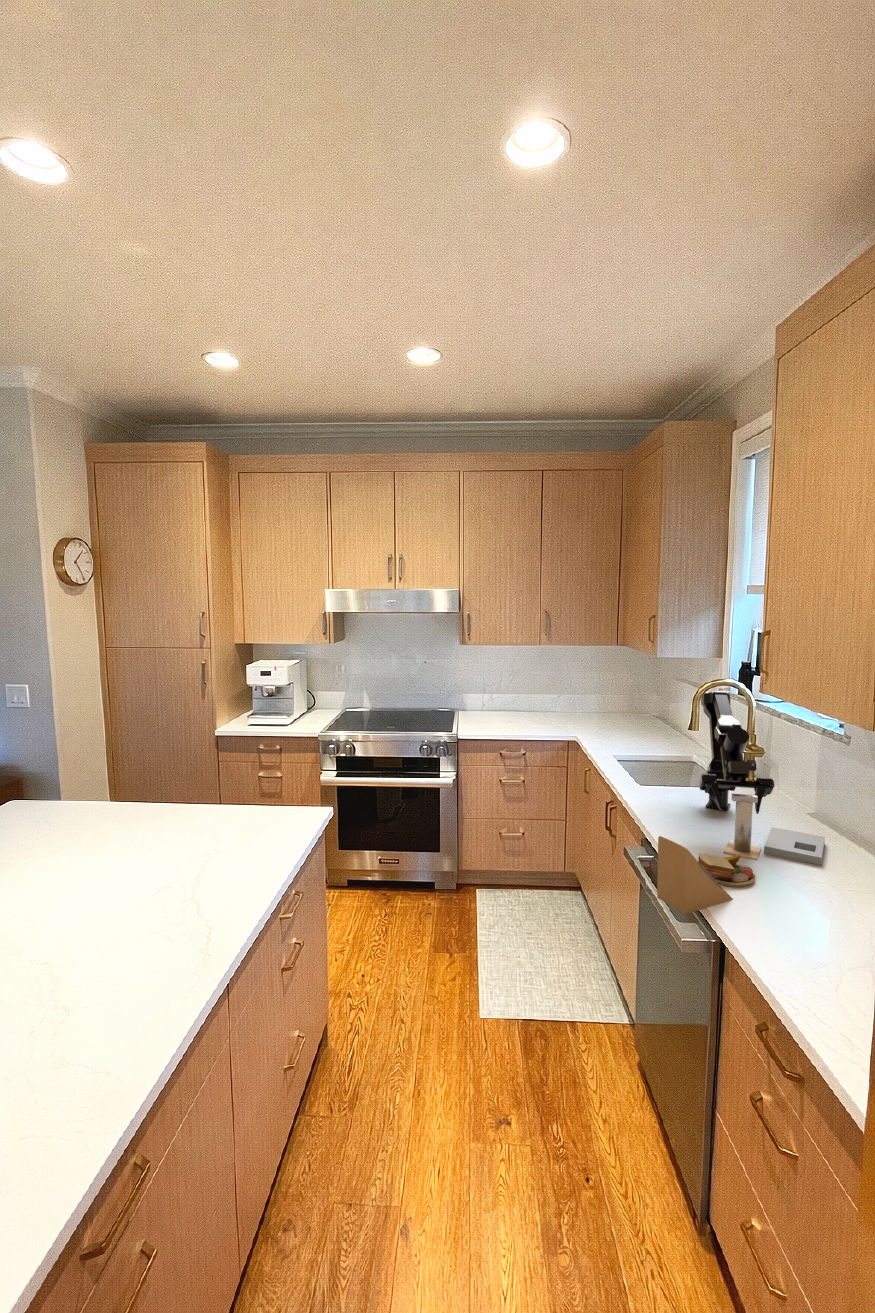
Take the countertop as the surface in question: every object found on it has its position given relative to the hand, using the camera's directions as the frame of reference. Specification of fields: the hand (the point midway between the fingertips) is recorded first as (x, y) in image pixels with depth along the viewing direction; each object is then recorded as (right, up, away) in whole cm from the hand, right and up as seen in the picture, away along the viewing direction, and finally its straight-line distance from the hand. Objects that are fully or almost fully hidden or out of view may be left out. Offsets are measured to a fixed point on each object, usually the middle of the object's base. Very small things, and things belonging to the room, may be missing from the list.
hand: (739, 812), depth 169 cm
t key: (-1, -9, -4) cm, 10 cm away
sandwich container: (-24, -13, -29) cm, 40 cm away
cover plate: (+14, -9, -3) cm, 17 cm away
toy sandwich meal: (-13, -12, -19) cm, 25 cm away
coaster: (-1, -9, -4) cm, 10 cm away
